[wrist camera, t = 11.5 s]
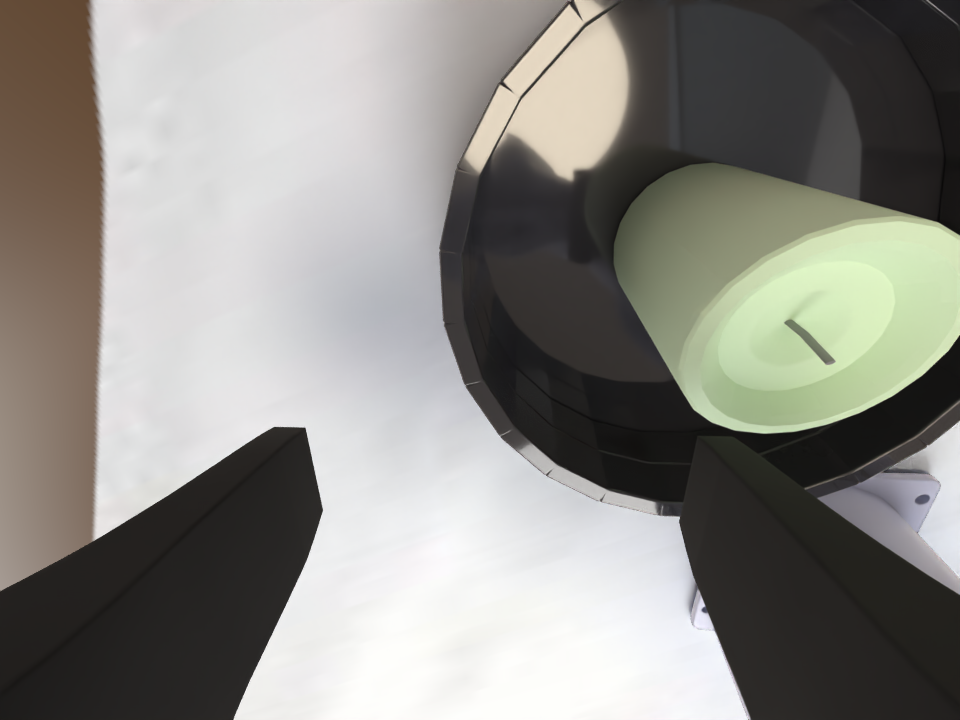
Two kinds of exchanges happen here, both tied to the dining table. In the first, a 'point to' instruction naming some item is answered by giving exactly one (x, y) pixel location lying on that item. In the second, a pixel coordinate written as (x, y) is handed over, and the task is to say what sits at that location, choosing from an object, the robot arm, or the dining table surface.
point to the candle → (785, 295)
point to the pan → (644, 159)
